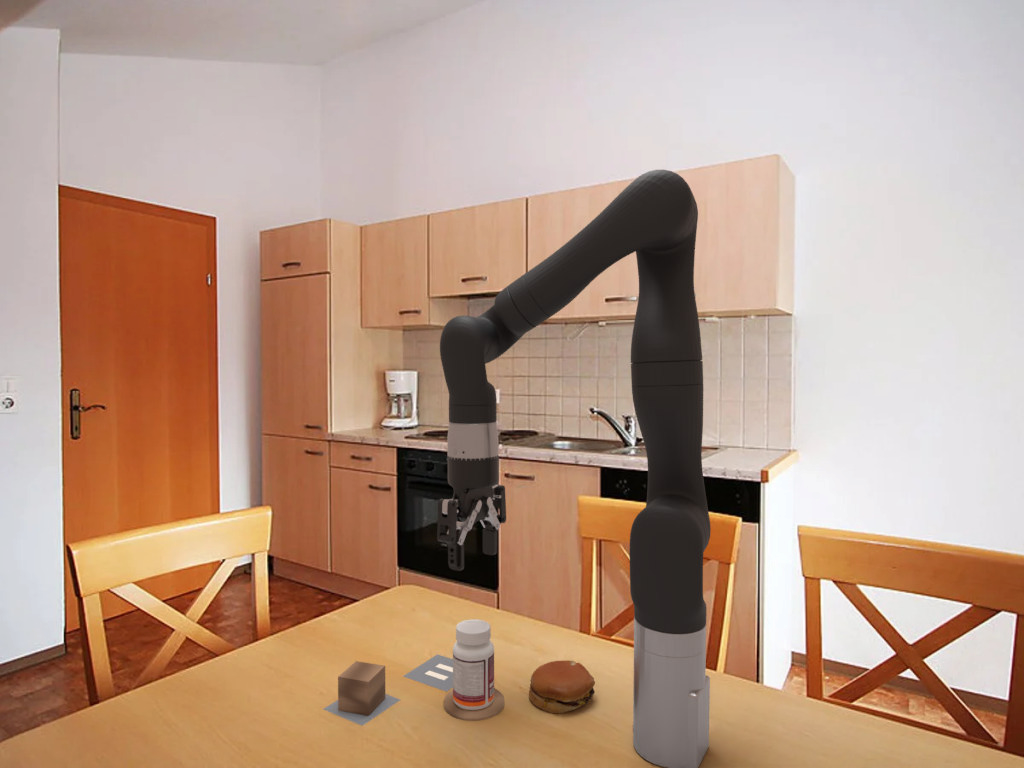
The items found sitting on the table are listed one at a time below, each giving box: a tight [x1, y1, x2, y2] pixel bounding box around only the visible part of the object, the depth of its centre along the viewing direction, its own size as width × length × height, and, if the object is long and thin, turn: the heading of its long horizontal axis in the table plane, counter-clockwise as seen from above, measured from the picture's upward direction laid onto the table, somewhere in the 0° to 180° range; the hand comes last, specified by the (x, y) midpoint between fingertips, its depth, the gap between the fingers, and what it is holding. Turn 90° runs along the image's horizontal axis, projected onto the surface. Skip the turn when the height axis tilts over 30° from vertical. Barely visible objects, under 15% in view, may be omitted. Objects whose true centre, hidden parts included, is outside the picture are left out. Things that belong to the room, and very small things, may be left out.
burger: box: [528, 659, 596, 714], centre depth 96 cm, size 10×9×5 cm
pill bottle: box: [452, 618, 495, 710], centre depth 94 cm, size 6×6×11 cm
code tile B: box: [323, 693, 401, 726], centre depth 94 cm, size 8×8×1 cm
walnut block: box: [337, 660, 386, 716], centre depth 94 cm, size 5×5×5 cm
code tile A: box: [402, 653, 453, 693], centre depth 104 cm, size 9×9×1 cm
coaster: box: [443, 687, 505, 722], centre depth 94 cm, size 9×9×1 cm
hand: (473, 561), depth 93 cm, fingers open, 8 cm apart
